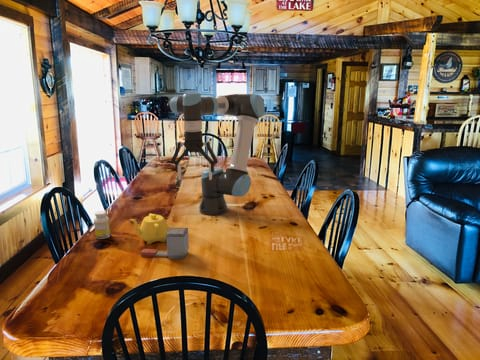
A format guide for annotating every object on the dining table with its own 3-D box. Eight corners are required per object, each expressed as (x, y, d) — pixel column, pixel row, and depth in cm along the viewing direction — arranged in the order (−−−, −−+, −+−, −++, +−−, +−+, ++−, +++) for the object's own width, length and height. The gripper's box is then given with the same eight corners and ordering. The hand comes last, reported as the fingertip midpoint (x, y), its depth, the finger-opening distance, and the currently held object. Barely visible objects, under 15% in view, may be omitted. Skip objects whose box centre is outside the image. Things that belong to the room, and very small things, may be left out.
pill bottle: (107, 232, 176) (104, 209, 173) (113, 236, 172) (110, 212, 169) (93, 236, 172) (90, 212, 169) (99, 240, 167) (96, 216, 164)
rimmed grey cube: (172, 247, 156) (170, 227, 153) (188, 248, 155) (187, 227, 153) (167, 255, 149) (166, 234, 147) (185, 255, 148) (184, 234, 146)
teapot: (149, 232, 177) (147, 208, 174) (175, 236, 172) (174, 211, 169) (130, 243, 164) (128, 218, 161) (159, 248, 159) (157, 221, 156)
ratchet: (145, 250, 157) (144, 236, 155) (187, 251, 155) (186, 237, 154) (139, 258, 150) (138, 243, 148) (183, 259, 149) (183, 244, 147)
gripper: (161, 131, 156) (164, 181, 162) (221, 131, 154) (222, 181, 160) (166, 129, 164) (169, 176, 169) (223, 129, 162) (224, 177, 167)
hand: (195, 179), depth 164 cm, fingers open, 13 cm apart
